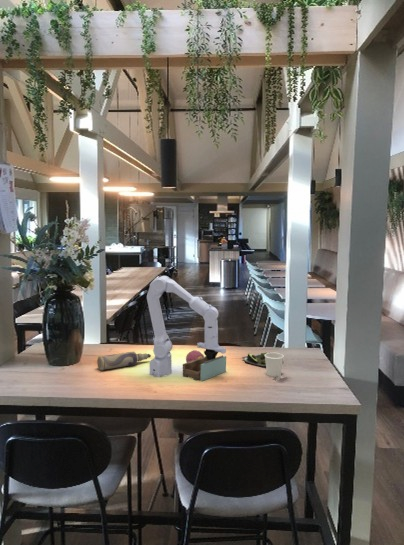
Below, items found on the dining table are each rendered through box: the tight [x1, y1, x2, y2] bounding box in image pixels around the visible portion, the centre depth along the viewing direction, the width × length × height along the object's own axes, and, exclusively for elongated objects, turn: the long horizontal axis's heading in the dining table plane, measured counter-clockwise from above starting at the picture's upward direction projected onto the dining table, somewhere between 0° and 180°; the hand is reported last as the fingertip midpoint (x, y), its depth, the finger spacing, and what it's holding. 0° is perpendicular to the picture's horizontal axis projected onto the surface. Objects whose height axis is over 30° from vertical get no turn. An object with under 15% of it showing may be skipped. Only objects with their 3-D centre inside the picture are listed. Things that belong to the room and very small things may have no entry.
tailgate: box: [201, 354, 227, 382], centre depth 187 cm, size 16×1×8 cm, turn 138°
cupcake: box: [185, 349, 205, 363], centre depth 201 cm, size 9×8×12 cm
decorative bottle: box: [96, 351, 152, 371], centre depth 207 cm, size 26×8×7 cm, turn 120°
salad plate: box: [241, 352, 271, 369], centre depth 213 cm, size 19×18×5 cm
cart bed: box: [182, 355, 208, 382], centre depth 191 cm, size 18×10×6 cm, turn 138°
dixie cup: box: [264, 352, 285, 381], centre depth 190 cm, size 8×8×10 cm
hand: (211, 366), depth 188 cm, fingers closed
